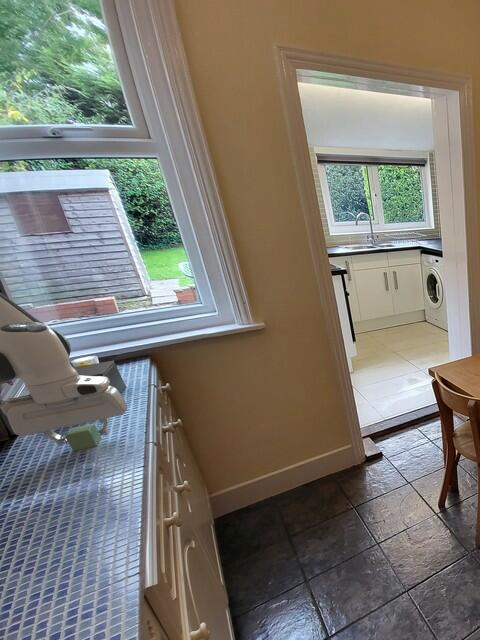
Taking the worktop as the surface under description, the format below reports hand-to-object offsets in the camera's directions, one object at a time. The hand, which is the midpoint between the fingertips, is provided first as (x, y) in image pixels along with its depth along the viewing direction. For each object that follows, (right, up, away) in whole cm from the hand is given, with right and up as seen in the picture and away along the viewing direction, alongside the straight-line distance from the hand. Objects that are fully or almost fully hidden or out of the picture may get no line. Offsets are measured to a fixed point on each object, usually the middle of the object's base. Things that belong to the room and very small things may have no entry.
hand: (84, 438), depth 104 cm
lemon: (-38, +14, +39) cm, 56 cm away
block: (0, -2, +1) cm, 2 cm away
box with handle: (-25, +9, +27) cm, 38 cm away
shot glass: (-44, +16, +45) cm, 66 cm away
